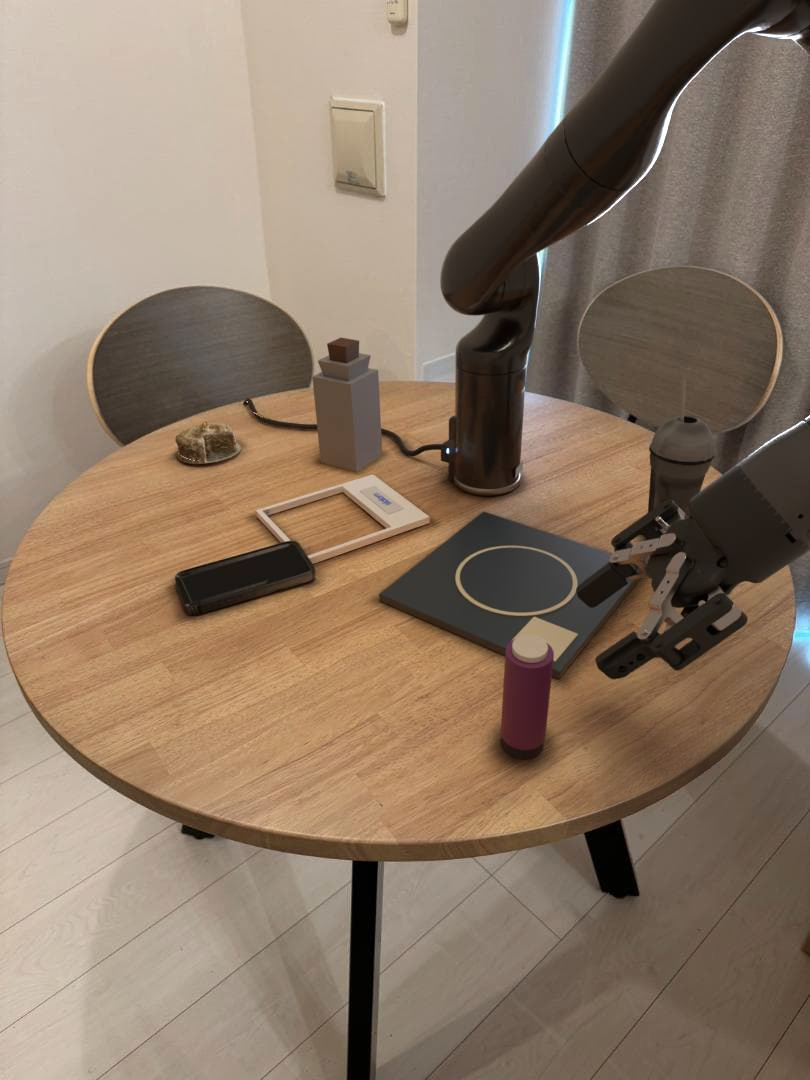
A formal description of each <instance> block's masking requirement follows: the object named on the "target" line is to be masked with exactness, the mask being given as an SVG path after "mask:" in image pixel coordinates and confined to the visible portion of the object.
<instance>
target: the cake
mask: <svg viewBox="0 0 810 1080" xmlns="http://www.w3.org/2000/svg"><path fill="white" fill-rule="evenodd" d="M182 430H183V429H182ZM174 439H175V443H176V445H177V453H176V458H177V460H178V461H180V462H182V463H185V464H186V463H187V464H192V465H204V464H213V463H218V462H222V461H224V460H227V459H230V458H232V457H234V456H236V455H237V454H239V453H240V452H241V450H242V446H241V444H239V442H238V441H237V435H236V434H235V431H234V428H233V427H232V426H231V425H229V424H228V423H218V422H216V423H213V422H209V423H208V421H204V422H202V423H201V424H197V425H194V426H190V427H188V428H185V429H184V430H183V431H181V432H180V433H179V434H176V435H175V438H174ZM178 450H179V451H178ZM178 452H179V453H180V454H179V455H178ZM180 455H182V456H184V457H186V458H188V459H186V458H183V457H181V456H180ZM189 459H191V460H189ZM193 460H195V461H193ZM198 460H199V461H198Z"/></svg>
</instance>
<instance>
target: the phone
mask: <svg viewBox="0 0 810 1080" xmlns="http://www.w3.org/2000/svg"><path fill="white" fill-rule="evenodd" d="M315 578H316V568H315V565H314V564H313V563H312V562H311V560H310V559H309V557H308V555H307V553H306V551H305V550H304V548H303V547H302V545H301V544H300V542H298V541H296V540H291V541H286V542H283V543H281V542H279V543H276V544H273V545H268V546H264V547H261V548H259V549H258V548H257V549H255V550H251V551H247V552H243V553H240V554H236V555H233V556H229V557H226V558H222V559H218V560H215V561H212V562H208V563H204V564H202V565H201V564H200V565H197V566H194V567H190V568H186V569H183V570H180V571H179V572H177V573H176V574H175V575H174V581H175V585H176V588H177V590H178V593H179V596H180V598H181V602H182V604H183V607H184V609H185V613H187V614H188V615H190V616H198V615H202V614H205V613H208V612H212V611H214V610H215V611H216V610H219V609H222V608H224V607H225V608H226V607H228V606H231V605H235V604H239V603H242V602H244V601H249V600H252V599H255V598H258V597H261V596H265V595H268V594H271V593H275V592H279V591H280V590H281V591H282V590H284V589H287V588H291V587H294V586H298V585H301V584H304V583H308V582H310V581H312V580H314V579H315Z"/></svg>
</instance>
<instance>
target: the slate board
mask: <svg viewBox="0 0 810 1080" xmlns="http://www.w3.org/2000/svg"><path fill="white" fill-rule="evenodd" d="M612 553H613V552H610V551H607V550H603V549H600V548H597V547H594V546H591V545H588V544H585V543H582V542H579V541H575V540H572V539H569V538H567V537H563V536H560V535H557V534H554V533H551V532H548V531H545V530H542V529H539V528H536V527H533V526H529V525H527V524H524V523H521V522H517V521H514V520H512V519H508V518H505V517H502V516H499V515H496V514H493V513H490V512H487V511H482V512H481V513H480V514H478V515H477V516H476V517H474V518H473V519H472V520H470V521H469V522H468V523H467V524H465V525H464V526H463V527H462V528H460V529H459V530H458V531H457V532H455V533H454V534H453V535H452V536H450V537H449V538H448V539H447V540H445V541H444V542H443V543H442V544H440V545H439V546H438V547H436V548H435V549H434V550H433V551H431V552H430V553H428V555H426V556H425V557H424V558H422V559H421V560H419V562H417V563H416V564H415V565H413V566H412V567H411V568H410V569H408V571H406V572H405V573H404V574H402V575H401V576H400V577H398V578H397V579H396V580H395V581H394V582H393V583H390V585H388V586H387V587H386V588H384V589H383V590H382V591H381V592H379V593H378V598H379V602H381V603H384V604H386V605H387V606H390V607H393V608H395V609H397V610H400V611H401V612H405V614H409V615H411V616H413V617H416V618H418V619H419V620H423V621H425V622H427V623H429V624H432V625H434V626H436V627H438V628H440V629H443V630H446V631H448V632H450V633H453V634H455V635H457V636H459V637H461V638H463V639H466V640H468V641H471V642H472V643H475V644H478V645H480V646H482V647H484V648H486V649H489V650H491V651H494V652H496V653H497V654H500V655H503V656H505V651H506V647H507V645H508V644H509V643H510V642H511V641H512V640H514V639H516V638H517V637H519V636H522V635H534V636H538V637H540V638H542V639H543V640H544V641H545V642H547V643H548V644H549V645H550V646H551V647H552V649H553V652H554V659H553V669H552V677H553V678H555V679H558V680H560V679H561V678H562V676H563V675H564V674H565V673H566V671H568V669H569V668H570V666H571V665H572V664H573V663H574V661H575V660H576V659H577V658H578V656H579V655H580V654H581V653H582V652H583V650H584V649H585V648H586V647H587V645H588V644H589V643H590V642H591V640H592V639H593V638H594V637H595V635H596V634H597V633H598V632H599V630H600V629H601V628H602V627H603V626H604V624H605V623H606V622H607V620H609V618H610V617H611V616H612V615H613V613H614V612H615V611H616V609H618V607H619V606H620V604H621V603H622V602H623V601H624V599H625V598H627V595H628V594H630V592H631V591H632V590H633V588H634V587H635V586H636V585H637V584H638V582H639V581H640V579H633V580H629V579H628V578H626V579H627V582H628V584H627V585H626V586H624V587H623V588H621V589H620V590H619V591H617V592H616V593H614V594H613V595H612V596H610V597H609V598H607V599H606V600H605V601H603V602H602V603H600V604H599V605H598V606H596V607H593V608H591V607H589V606H587V605H586V604H585V603H584V602H583V601H582V600H581V599H579V598H578V596H577V592H576V588H577V587H578V586H579V585H580V584H582V583H583V582H584V581H585V580H586V579H587V578H589V577H590V576H592V575H593V574H594V573H596V572H597V571H598V570H599V569H601V568H602V567H603V566H605V565H606V564H607V563H609V562H610V561H609V558H610V556H611V554H612Z"/></svg>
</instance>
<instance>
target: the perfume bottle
mask: <svg viewBox="0 0 810 1080" xmlns="http://www.w3.org/2000/svg"><path fill="white" fill-rule="evenodd" d="M326 346H327V352H328V355H326V356H324V357H322V358H319V359H318V360H317V363H318V366H319V368H320V370H321V372H319V373H317V374H315V375H312V377H311V378H312V390H313V397H314V408H315V409H314V410H315V417H316V418H315V419H316V424H317V429H316V430H317V436H318V437H317V438H318V439H317V441H318V448H319V459H320V463H321V464H326V465H328V466H329V465H330V466H333V467H337V468H341V469H344V470H348V471H352V472H354V473H358V472H359V471H361V470H362V469H363V468H365V467H367V466H368V465H369V464H371V463H373V462H374V461H375V460H377V459H379V458H380V457H381V456H383V440H382V434H381V428H382V424H381V423H382V421H381V420H382V419H381V399H380V380H379V379H380V378H379V370H378V369H375V368H371V367H369V365H370V361H371V356H372V355H371V354H366V353H361V352H360V340H359V339H352V338H346V337H339V338H336V339H334V340H332V341H330V342H327V343H326Z"/></svg>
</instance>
